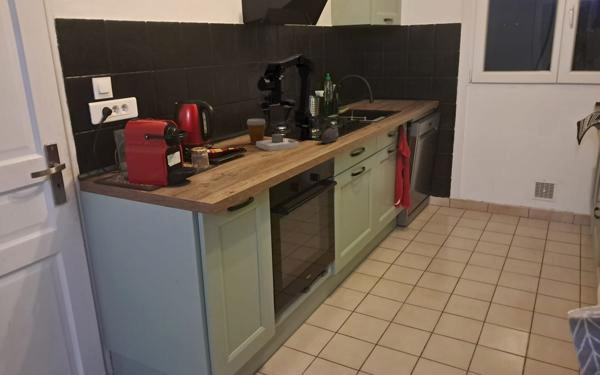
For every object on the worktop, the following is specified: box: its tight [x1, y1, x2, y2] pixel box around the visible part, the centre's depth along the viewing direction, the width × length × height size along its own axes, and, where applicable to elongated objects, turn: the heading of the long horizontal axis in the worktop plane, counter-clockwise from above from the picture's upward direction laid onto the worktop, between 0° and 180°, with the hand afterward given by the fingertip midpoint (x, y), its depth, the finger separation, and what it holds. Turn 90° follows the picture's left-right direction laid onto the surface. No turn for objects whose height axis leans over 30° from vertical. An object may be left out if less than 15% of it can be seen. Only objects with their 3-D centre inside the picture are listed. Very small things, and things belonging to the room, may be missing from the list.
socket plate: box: [255, 137, 300, 152], centre depth 239 cm, size 16×14×3 cm
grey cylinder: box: [271, 133, 284, 143], centre depth 239 cm, size 4×4×6 cm
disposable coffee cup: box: [246, 118, 267, 146], centre depth 247 cm, size 10×10×12 cm
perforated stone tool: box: [320, 126, 340, 144], centre depth 248 cm, size 15×5×7 cm, turn 146°
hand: (277, 122), depth 237 cm, fingers open, 9 cm apart
